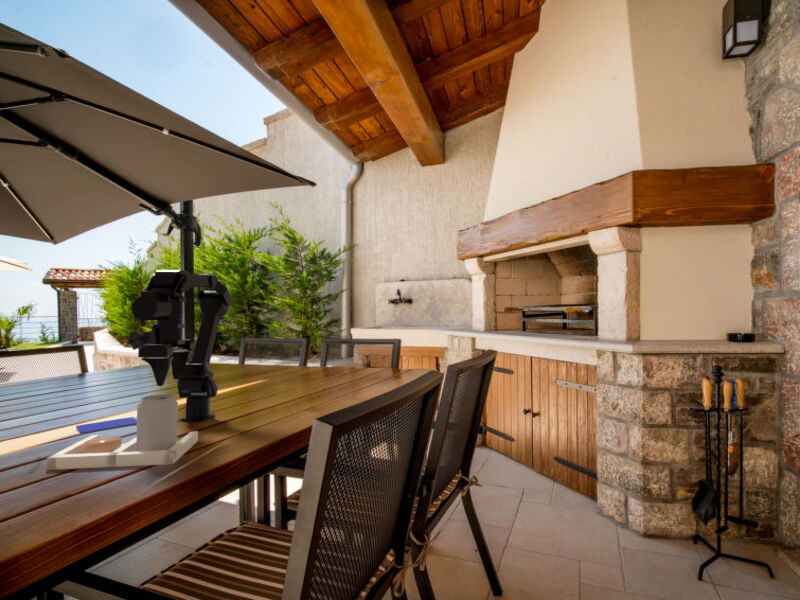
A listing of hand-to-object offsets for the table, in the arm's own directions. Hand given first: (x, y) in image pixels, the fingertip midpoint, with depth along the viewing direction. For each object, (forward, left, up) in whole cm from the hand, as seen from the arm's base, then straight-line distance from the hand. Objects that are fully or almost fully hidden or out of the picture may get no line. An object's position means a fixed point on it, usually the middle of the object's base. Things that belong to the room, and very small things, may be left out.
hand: (168, 382), depth 100 cm
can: (+12, +7, -13) cm, 19 cm away
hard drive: (-3, -20, -14) cm, 24 cm away
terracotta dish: (+16, -3, -12) cm, 20 cm away
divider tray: (+14, +2, -13) cm, 19 cm away
